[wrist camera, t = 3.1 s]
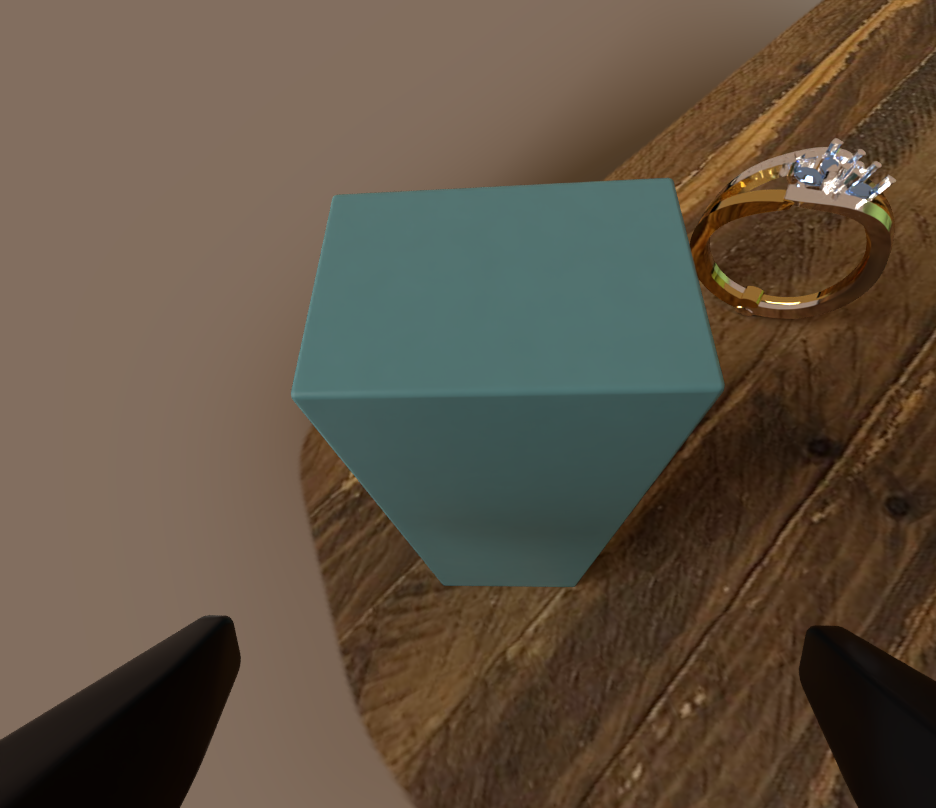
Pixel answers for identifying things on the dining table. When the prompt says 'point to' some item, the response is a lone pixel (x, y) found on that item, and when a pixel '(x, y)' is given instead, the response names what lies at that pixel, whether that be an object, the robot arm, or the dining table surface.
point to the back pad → (508, 366)
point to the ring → (813, 187)
